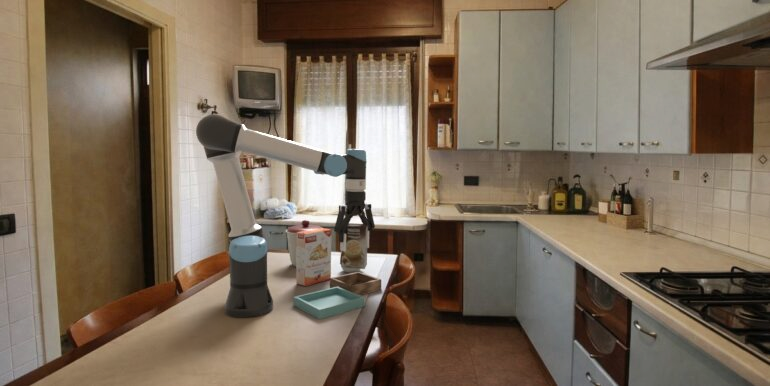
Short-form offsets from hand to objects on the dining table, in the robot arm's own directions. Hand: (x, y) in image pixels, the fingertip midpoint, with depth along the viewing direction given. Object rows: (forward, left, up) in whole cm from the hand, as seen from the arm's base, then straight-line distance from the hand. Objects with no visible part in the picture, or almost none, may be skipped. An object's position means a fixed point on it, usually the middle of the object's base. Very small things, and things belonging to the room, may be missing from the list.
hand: (354, 248), depth 163 cm
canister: (+4, +43, -16) cm, 46 cm away
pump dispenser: (+14, +21, -16) cm, 30 cm away
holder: (0, 0, -16) cm, 16 cm away
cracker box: (-7, +18, -16) cm, 25 cm away
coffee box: (0, 0, -7) cm, 7 cm away
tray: (-18, -9, -16) cm, 25 cm away
